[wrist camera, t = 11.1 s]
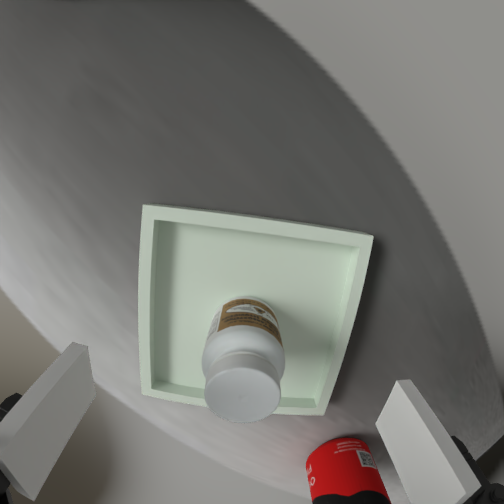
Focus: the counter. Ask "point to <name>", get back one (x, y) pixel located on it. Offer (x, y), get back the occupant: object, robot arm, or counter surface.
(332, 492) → the beverage can
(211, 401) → the pill bottle
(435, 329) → the counter surface
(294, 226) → the tray
